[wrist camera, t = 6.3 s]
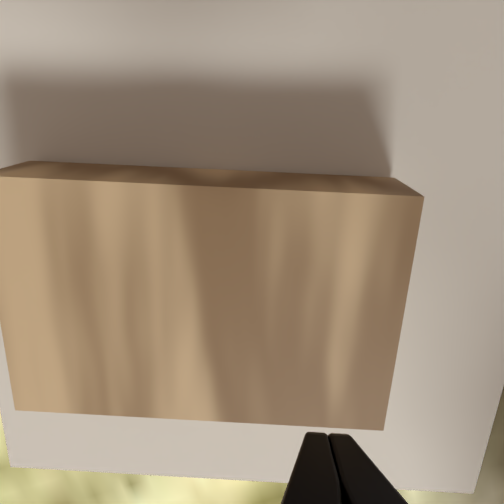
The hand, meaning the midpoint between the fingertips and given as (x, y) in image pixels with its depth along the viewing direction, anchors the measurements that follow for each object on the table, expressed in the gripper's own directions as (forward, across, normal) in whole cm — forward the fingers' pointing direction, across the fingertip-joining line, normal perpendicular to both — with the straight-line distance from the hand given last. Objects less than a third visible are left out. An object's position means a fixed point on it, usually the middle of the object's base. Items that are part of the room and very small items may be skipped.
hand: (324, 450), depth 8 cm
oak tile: (+7, -3, 0) cm, 7 cm away
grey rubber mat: (+9, +2, 0) cm, 9 cm away
